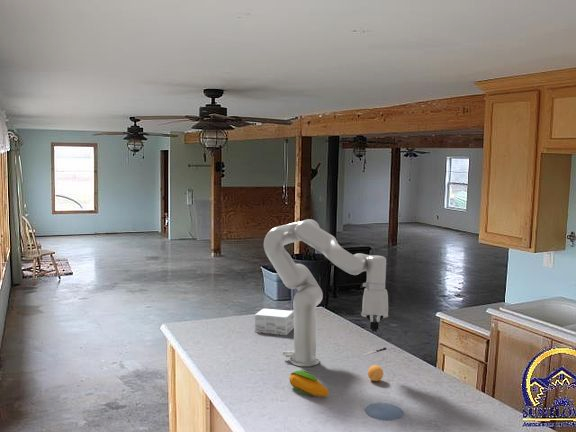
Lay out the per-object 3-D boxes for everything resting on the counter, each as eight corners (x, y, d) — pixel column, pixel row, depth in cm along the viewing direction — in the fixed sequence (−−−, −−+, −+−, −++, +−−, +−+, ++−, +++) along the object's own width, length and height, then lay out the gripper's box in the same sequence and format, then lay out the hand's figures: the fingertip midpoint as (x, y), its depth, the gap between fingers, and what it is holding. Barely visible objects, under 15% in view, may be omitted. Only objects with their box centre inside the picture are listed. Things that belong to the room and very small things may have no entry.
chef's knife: (353, 357, 242) (358, 358, 240) (353, 354, 242) (358, 355, 240) (381, 348, 254) (386, 349, 252) (381, 345, 254) (386, 347, 252)
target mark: (366, 419, 181) (366, 418, 181) (363, 402, 193) (363, 401, 193) (406, 420, 180) (406, 420, 180) (400, 403, 193) (400, 403, 193)
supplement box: (293, 328, 281) (294, 310, 280) (286, 335, 269) (287, 317, 268) (262, 325, 286) (263, 307, 285) (254, 332, 273) (254, 313, 273)
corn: (299, 363, 209) (336, 379, 194) (299, 382, 210) (336, 399, 195) (284, 369, 205) (321, 386, 189) (285, 388, 206) (321, 406, 190)
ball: (368, 383, 211) (368, 368, 210) (366, 377, 217) (367, 362, 216) (383, 384, 210) (384, 368, 210) (382, 378, 216) (382, 363, 216)
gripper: (357, 287, 216) (356, 333, 218) (395, 289, 216) (394, 334, 217) (356, 283, 224) (354, 327, 226) (393, 284, 223) (391, 328, 225)
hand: (374, 330), depth 222 cm, fingers closed
